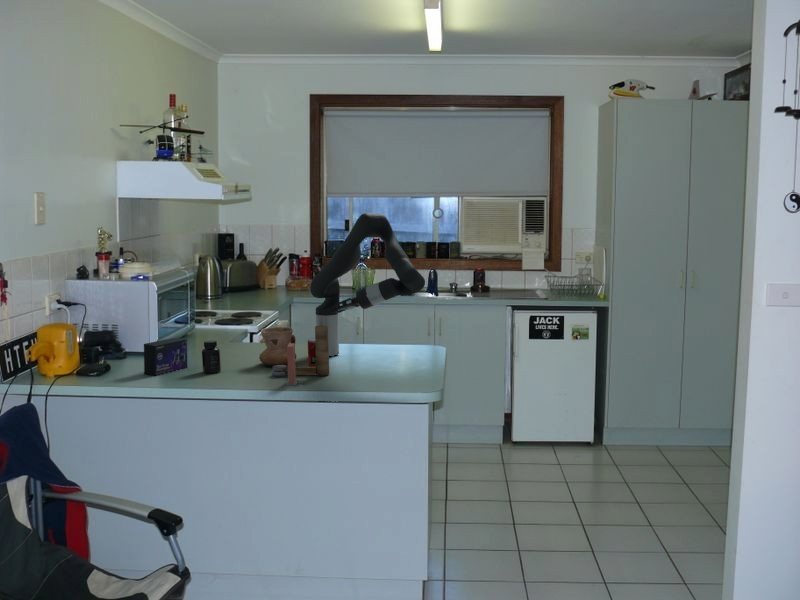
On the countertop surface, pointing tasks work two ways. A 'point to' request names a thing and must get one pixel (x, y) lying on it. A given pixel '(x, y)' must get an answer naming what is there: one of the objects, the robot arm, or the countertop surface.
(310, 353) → the canned food
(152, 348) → the box
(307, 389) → the countertop surface
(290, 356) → the block
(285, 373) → the pivot disc
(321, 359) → the brown l-shaped piece
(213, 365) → the supplement bottle
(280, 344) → the ceramic jug
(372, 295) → the robot arm
